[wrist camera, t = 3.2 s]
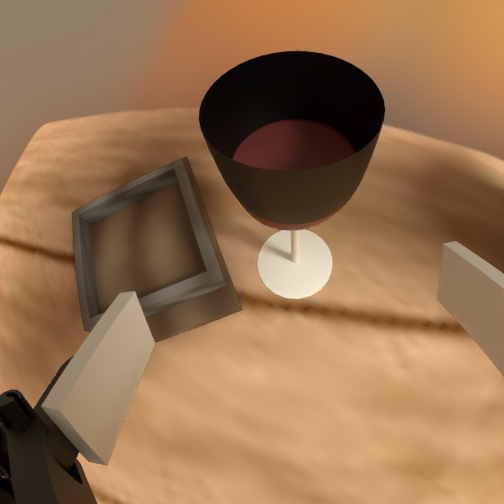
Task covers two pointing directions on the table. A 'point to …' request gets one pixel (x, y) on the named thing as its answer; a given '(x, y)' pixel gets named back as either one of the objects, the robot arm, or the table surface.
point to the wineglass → (293, 153)
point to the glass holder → (152, 253)
